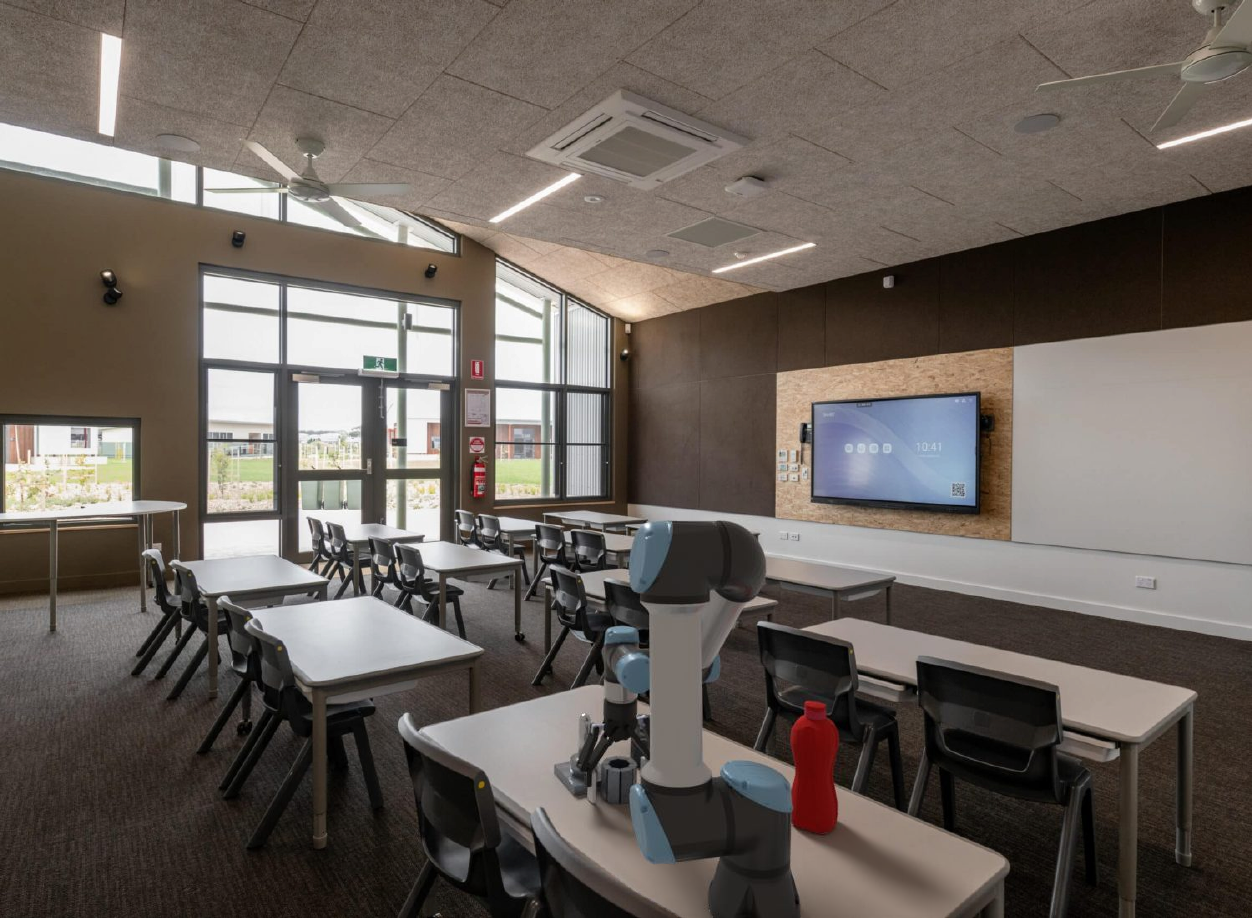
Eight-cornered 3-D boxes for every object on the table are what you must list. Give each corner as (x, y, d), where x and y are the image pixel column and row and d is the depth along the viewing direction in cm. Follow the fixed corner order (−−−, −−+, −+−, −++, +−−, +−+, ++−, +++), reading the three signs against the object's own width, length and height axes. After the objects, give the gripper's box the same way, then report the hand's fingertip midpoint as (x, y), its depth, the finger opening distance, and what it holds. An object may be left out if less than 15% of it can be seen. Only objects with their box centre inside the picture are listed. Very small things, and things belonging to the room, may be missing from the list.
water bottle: (842, 815, 145) (845, 697, 145) (829, 840, 136) (832, 714, 135) (799, 803, 150) (802, 689, 150) (784, 826, 140) (786, 704, 140)
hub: (641, 799, 150) (642, 767, 150) (610, 806, 147) (611, 774, 147) (625, 784, 157) (626, 753, 157) (596, 791, 153) (596, 760, 153)
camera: (673, 764, 168) (674, 723, 168) (635, 770, 164) (636, 728, 164) (652, 742, 180) (652, 705, 180) (616, 748, 177) (617, 709, 177)
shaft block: (614, 786, 156) (615, 719, 156) (574, 795, 151) (575, 726, 151) (592, 764, 167) (593, 702, 166) (554, 772, 162) (555, 708, 162)
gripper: (660, 684, 161) (658, 775, 161) (562, 700, 149) (560, 797, 150) (676, 695, 154) (674, 789, 154) (576, 712, 143) (573, 814, 143)
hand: (618, 794), depth 152 cm, fingers open, 12 cm apart
